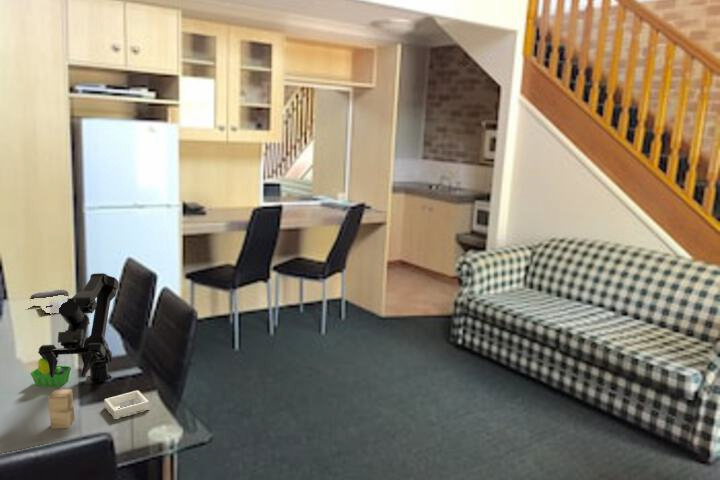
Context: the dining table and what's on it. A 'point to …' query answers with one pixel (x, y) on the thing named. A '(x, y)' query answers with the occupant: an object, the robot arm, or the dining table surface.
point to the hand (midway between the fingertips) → (67, 376)
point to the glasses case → (50, 294)
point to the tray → (114, 402)
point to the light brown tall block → (61, 408)
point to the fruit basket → (43, 374)
